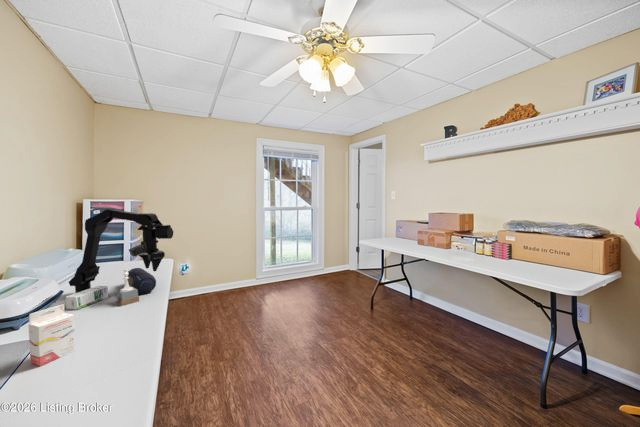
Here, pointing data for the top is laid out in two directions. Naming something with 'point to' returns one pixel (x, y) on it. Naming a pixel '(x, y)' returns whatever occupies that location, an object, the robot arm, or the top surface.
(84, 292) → the syrup box
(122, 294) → the slate top block
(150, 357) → the top surface
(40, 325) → the ink cartridge box
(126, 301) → the walnut base block
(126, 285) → the chess piece
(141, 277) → the portable speaker
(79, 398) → the top surface
